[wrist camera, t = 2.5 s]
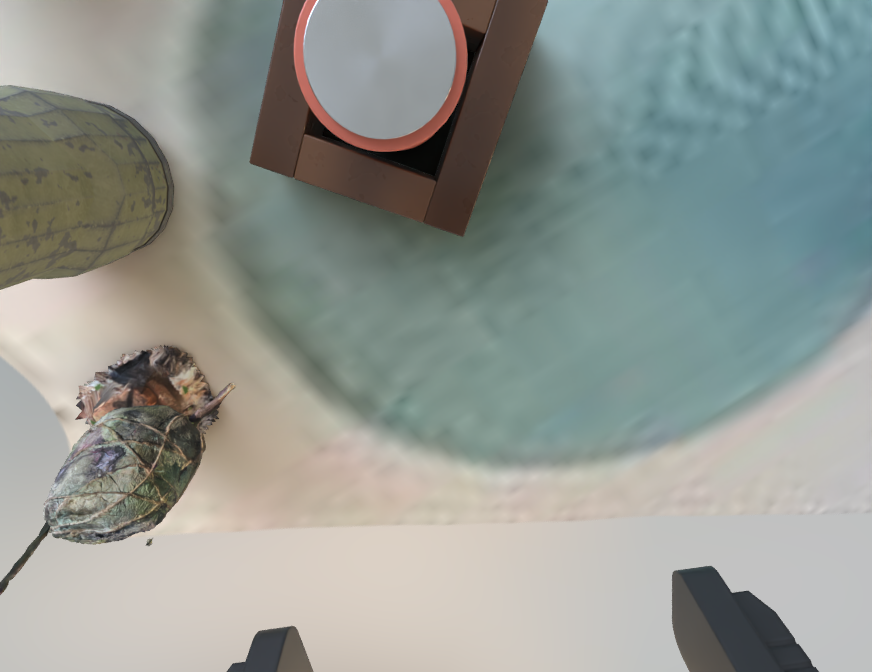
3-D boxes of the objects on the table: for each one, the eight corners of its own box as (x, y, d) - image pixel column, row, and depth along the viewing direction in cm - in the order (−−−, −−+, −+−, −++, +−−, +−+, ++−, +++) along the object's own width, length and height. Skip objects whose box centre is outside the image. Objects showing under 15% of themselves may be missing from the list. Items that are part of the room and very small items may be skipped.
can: (463, 59, 28) (495, -7, 16) (429, 164, 30) (435, 175, 18) (361, 19, 27) (315, -81, 15) (333, 129, 29) (272, 116, 17)
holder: (527, 25, 28) (548, 0, 23) (456, 223, 31) (463, 237, 27) (325, -59, 26) (304, -103, 21) (275, 160, 30) (248, 163, 25)
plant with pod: (264, 442, 36) (95, 760, 17) (105, 459, 36) (-234, 794, 17) (236, 335, 33) (0, 575, 15) (64, 353, 33) (-392, 616, 15)
